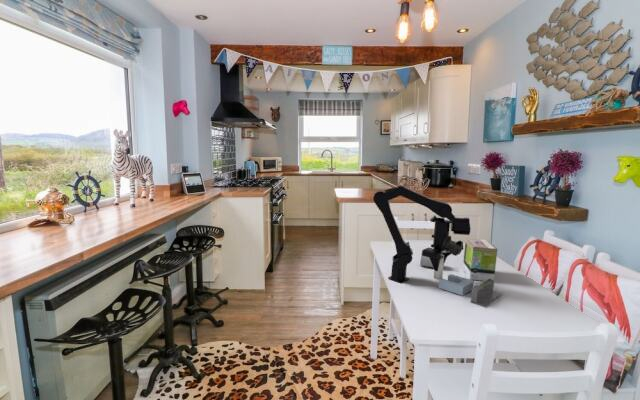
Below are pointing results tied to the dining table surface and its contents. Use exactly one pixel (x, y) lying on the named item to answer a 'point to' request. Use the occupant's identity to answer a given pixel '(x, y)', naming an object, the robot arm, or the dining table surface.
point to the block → (456, 284)
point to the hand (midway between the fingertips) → (438, 269)
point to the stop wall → (484, 293)
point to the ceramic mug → (425, 261)
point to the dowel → (439, 269)
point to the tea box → (479, 259)
